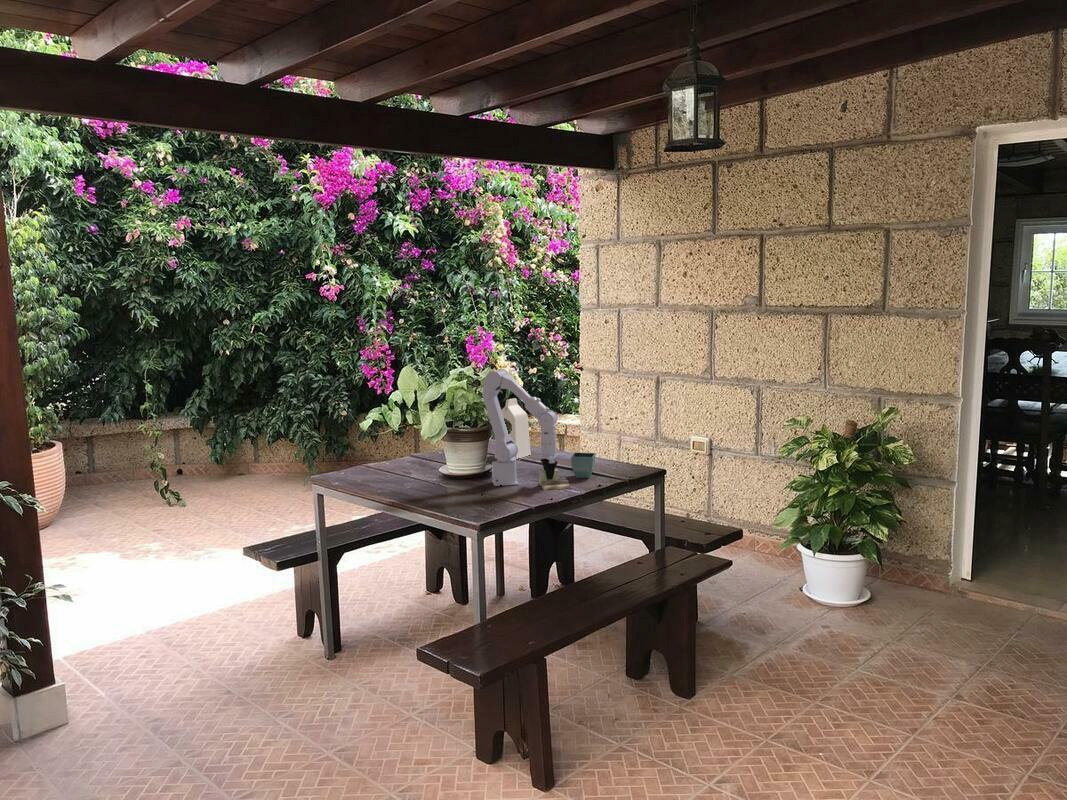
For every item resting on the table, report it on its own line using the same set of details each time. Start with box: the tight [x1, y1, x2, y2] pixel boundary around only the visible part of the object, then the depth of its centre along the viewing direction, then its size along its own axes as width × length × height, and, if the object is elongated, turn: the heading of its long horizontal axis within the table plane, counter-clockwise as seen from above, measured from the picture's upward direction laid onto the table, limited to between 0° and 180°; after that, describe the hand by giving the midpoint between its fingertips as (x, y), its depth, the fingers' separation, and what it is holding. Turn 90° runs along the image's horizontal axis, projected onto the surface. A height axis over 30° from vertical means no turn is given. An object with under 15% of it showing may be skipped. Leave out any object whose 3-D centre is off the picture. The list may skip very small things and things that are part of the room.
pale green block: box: [539, 468, 560, 485], centre depth 328 cm, size 7×2×5 cm, turn 99°
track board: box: [538, 477, 571, 491], centre depth 329 cm, size 10×12×2 cm
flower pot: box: [570, 452, 596, 479], centre depth 342 cm, size 9×9×9 cm
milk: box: [501, 397, 532, 459], centre depth 385 cm, size 12×12×26 cm
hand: (549, 478), depth 328 cm, fingers closed on pale green block, 2 cm apart
